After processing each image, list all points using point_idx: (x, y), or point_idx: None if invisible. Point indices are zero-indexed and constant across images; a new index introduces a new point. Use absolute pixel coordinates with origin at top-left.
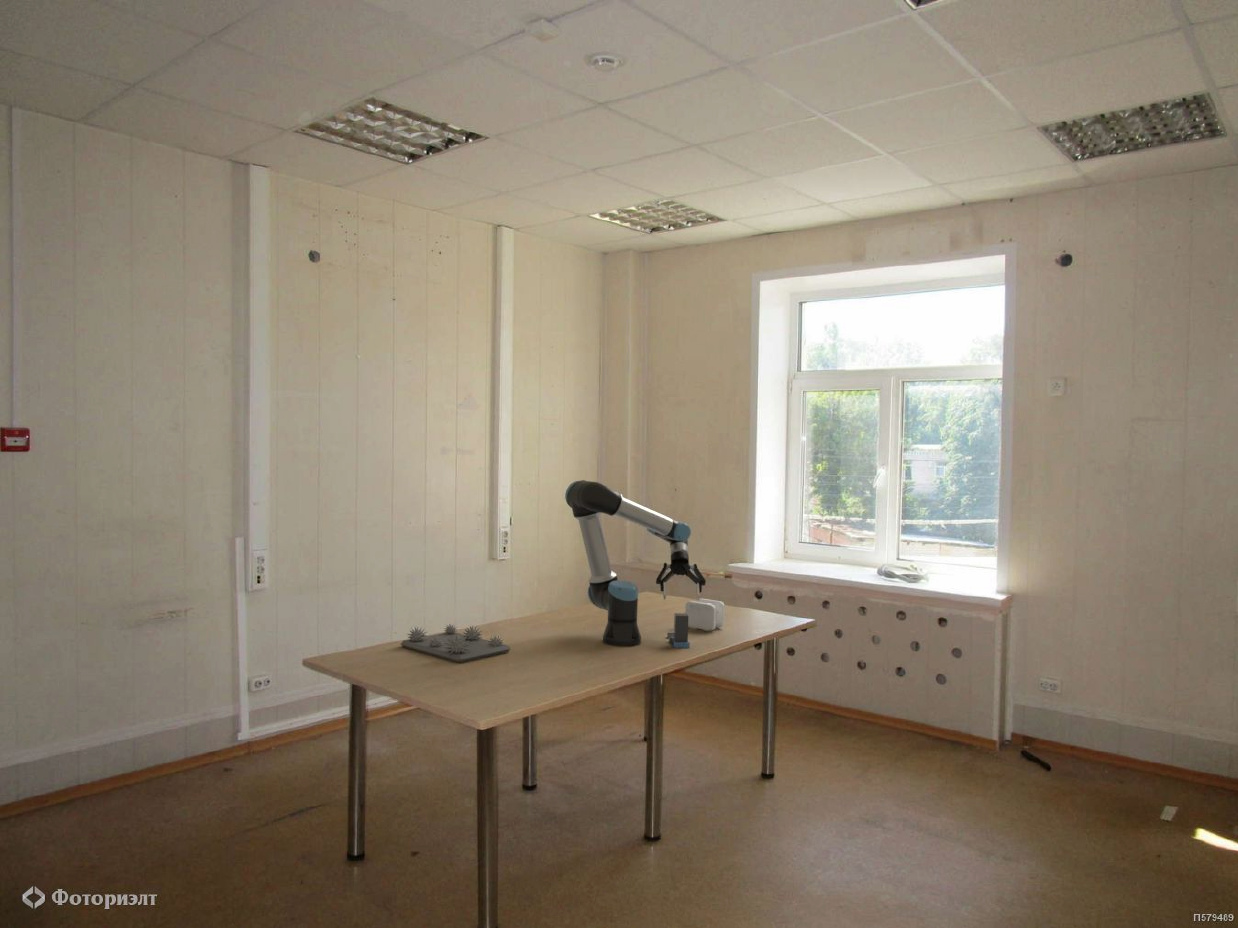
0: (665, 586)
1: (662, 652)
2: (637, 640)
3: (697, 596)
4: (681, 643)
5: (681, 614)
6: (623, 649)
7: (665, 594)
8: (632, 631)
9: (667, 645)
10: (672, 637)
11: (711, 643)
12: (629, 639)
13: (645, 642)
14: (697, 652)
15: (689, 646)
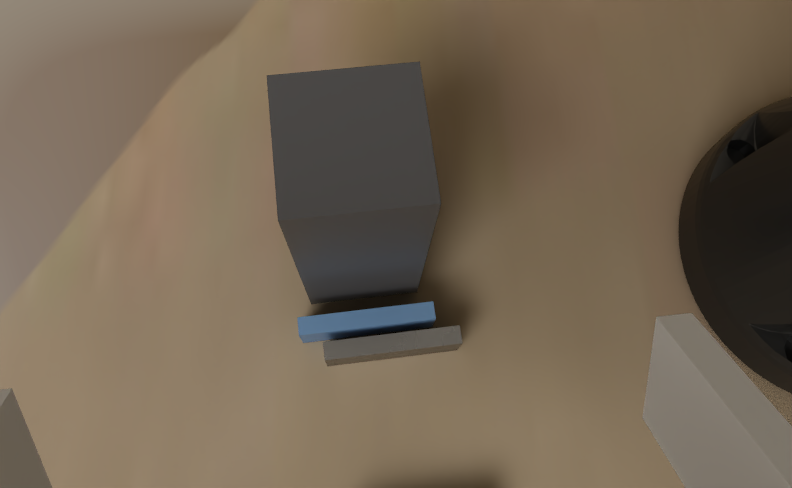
0: (787, 475)
1: (481, 11)
2: (706, 162)
3: (15, 460)
4: None
5: (350, 148)
6: (755, 41)
7: (674, 326)
8: (787, 113)
9: (461, 217)
10: (431, 316)
11: (86, 366)
12: (767, 107)
13: (645, 282)
14: (234, 53)
15: None
